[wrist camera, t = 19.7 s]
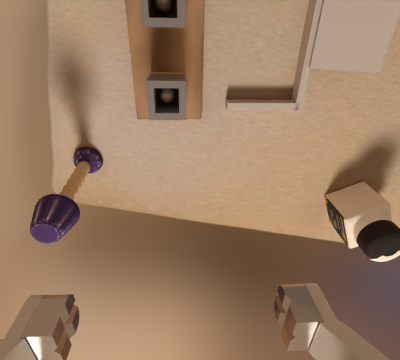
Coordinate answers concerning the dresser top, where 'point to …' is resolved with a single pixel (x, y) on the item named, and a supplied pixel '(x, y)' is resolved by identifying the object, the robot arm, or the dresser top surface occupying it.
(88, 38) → the dresser top surface
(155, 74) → the sleeve
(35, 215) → the toy lamp
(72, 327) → the robot arm
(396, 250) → the medicine bottle
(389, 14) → the tray
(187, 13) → the pin board
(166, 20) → the sleeve
